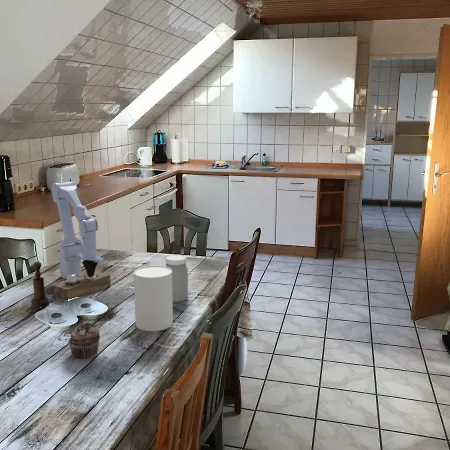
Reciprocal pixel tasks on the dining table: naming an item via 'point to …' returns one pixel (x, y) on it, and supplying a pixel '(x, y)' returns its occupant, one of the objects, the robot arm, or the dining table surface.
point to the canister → (153, 298)
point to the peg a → (72, 279)
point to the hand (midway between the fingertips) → (90, 276)
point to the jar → (178, 277)
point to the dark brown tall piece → (39, 289)
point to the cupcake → (84, 341)
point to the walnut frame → (81, 286)
